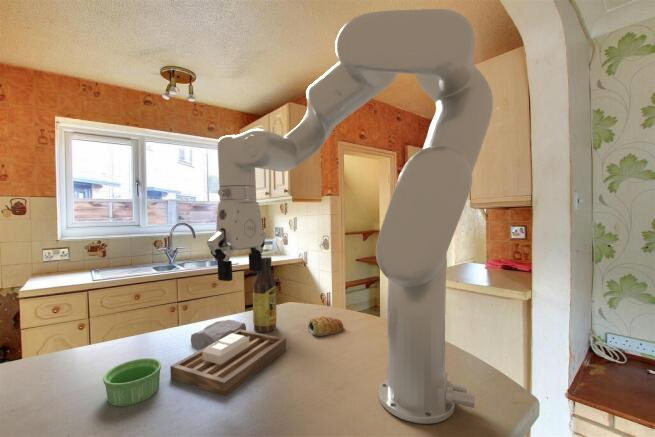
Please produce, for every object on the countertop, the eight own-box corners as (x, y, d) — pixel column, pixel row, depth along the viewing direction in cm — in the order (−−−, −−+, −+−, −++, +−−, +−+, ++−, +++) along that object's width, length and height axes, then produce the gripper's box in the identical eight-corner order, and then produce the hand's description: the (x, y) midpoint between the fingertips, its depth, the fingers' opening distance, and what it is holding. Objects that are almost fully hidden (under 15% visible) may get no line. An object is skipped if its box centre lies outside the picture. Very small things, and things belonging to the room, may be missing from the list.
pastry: (337, 324, 90) (337, 310, 89) (347, 333, 83) (347, 319, 83) (306, 329, 86) (305, 315, 86) (314, 339, 80) (314, 324, 80)
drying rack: (286, 349, 74) (286, 338, 74) (224, 396, 56) (224, 382, 56) (239, 338, 80) (239, 329, 80) (170, 378, 62) (170, 366, 62)
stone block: (187, 354, 76) (219, 352, 72) (183, 334, 76) (216, 332, 73) (220, 337, 87) (250, 334, 83) (217, 319, 87) (247, 316, 84)
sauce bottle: (274, 333, 83) (273, 259, 82) (250, 333, 83) (249, 259, 82) (278, 324, 89) (277, 255, 89) (256, 324, 90) (255, 255, 89)
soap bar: (249, 346, 72) (249, 334, 71) (220, 364, 63) (220, 351, 63) (232, 342, 74) (232, 331, 74) (202, 359, 65) (202, 347, 65)
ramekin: (126, 379, 62) (125, 357, 62) (171, 379, 62) (170, 358, 61) (91, 409, 53) (89, 383, 53) (143, 409, 53) (142, 384, 52)
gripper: (222, 193, 57) (226, 286, 58) (276, 195, 73) (278, 268, 74) (192, 195, 60) (196, 283, 61) (250, 197, 76) (252, 266, 77)
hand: (241, 275), depth 67 cm, fingers open, 9 cm apart
